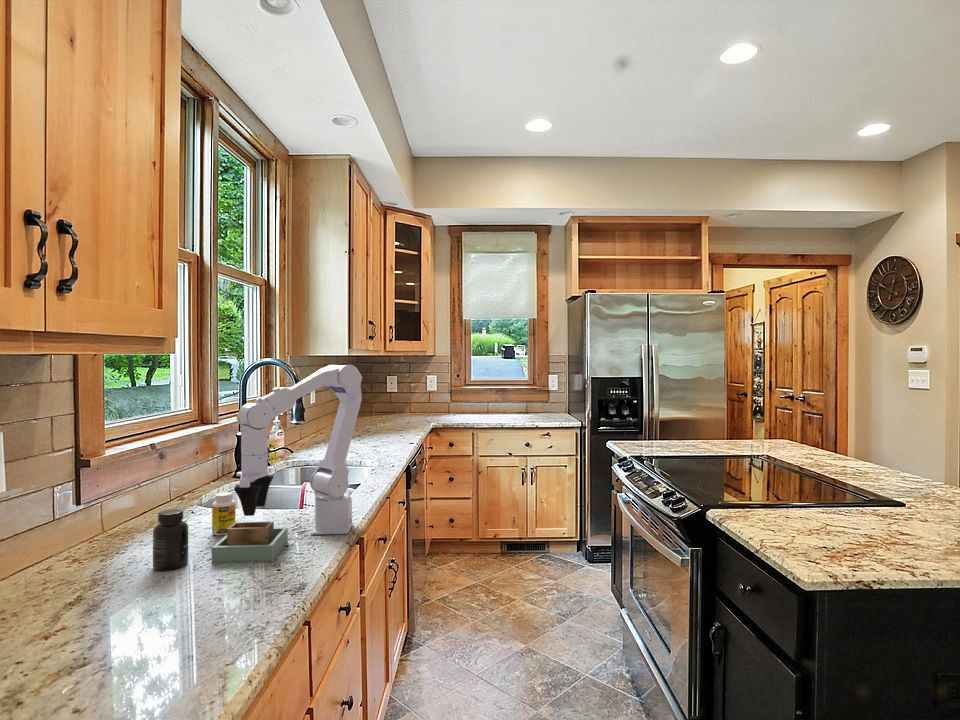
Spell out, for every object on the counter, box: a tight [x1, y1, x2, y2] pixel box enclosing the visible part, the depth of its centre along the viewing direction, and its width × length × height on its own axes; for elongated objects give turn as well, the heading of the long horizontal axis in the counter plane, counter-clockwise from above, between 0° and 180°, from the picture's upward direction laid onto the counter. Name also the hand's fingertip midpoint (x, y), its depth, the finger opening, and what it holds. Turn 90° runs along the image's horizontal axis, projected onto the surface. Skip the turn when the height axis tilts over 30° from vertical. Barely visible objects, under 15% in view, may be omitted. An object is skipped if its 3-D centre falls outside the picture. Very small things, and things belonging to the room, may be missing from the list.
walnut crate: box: [227, 520, 275, 546], centre depth 127 cm, size 9×5×6 cm, turn 95°
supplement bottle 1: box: [152, 508, 189, 572], centre depth 119 cm, size 7×7×12 cm
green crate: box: [211, 527, 289, 565], centre depth 127 cm, size 13×13×4 cm
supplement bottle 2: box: [211, 491, 236, 537], centre depth 141 cm, size 6×6×10 cm
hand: (254, 510), depth 129 cm, fingers open, 7 cm apart
